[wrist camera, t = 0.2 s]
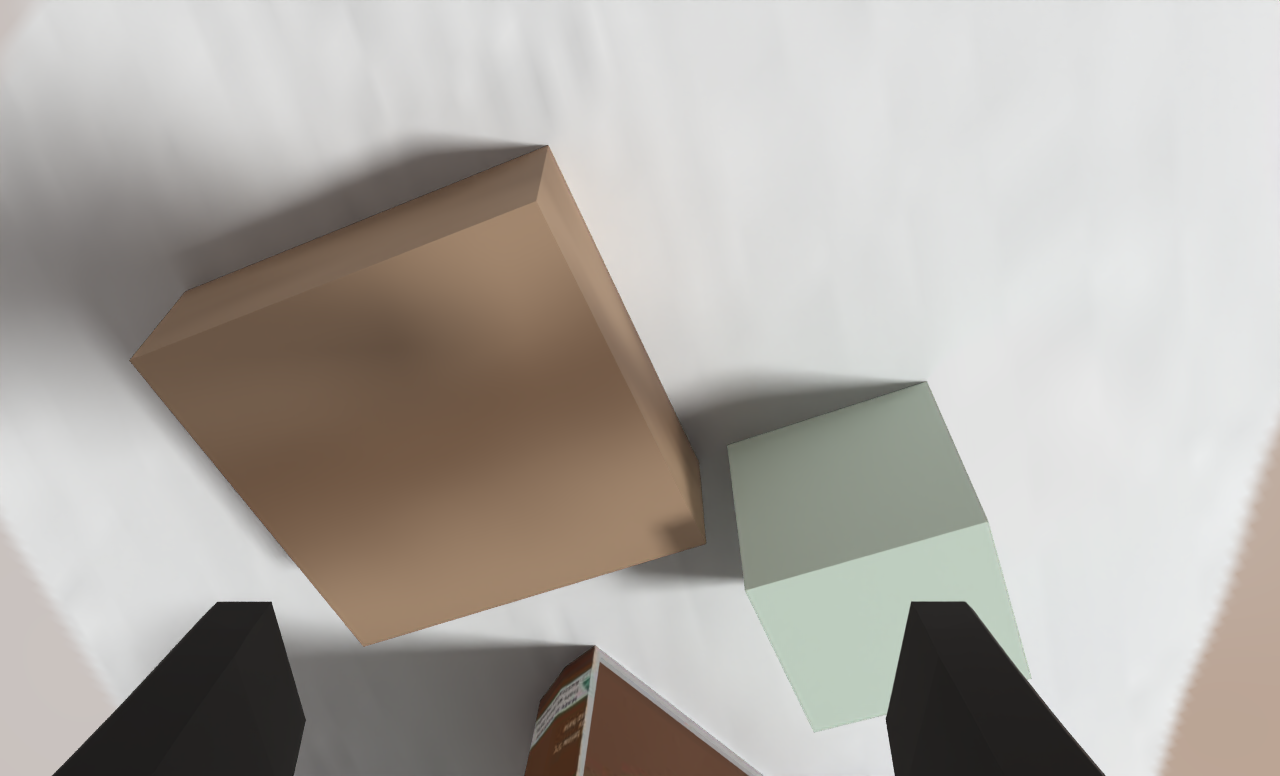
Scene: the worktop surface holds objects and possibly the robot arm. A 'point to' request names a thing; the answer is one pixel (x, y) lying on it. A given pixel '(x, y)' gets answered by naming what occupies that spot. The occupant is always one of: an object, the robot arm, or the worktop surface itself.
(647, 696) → the food container
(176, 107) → the worktop surface
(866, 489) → the sage cube
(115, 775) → the robot arm
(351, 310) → the walnut block
